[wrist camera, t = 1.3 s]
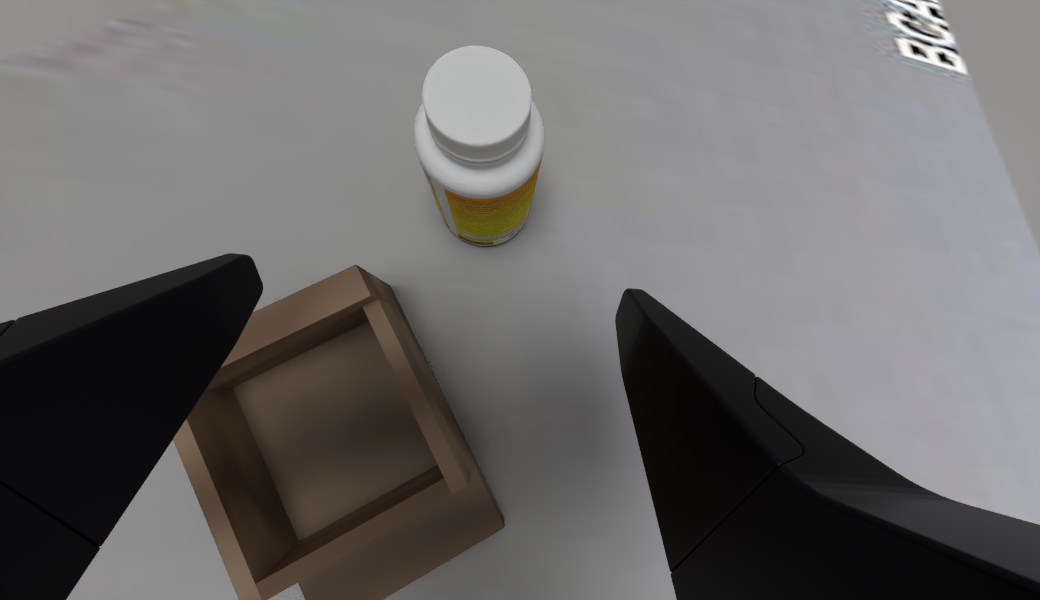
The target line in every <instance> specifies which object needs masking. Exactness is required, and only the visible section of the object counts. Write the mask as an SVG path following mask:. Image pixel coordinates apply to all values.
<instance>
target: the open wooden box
mask: <svg viewBox="0 0 1040 600" xmlns="http://www.w3.org/2000/svg"><path fill="white" fill-rule="evenodd" d="M173 440H174V443H175V445H176V448H177V450H178V453H179V455H180V457H181V460H182V462H183V465H184V467H185V470H186V472H187V474H188V477H189V479H190V482H191V484H192V487H193V489H194V492H195V494H196V496H197V499H198V501H199V504H200V506H201V509H202V511H203V514H204V516H205V518H206V521H207V523H208V526H209V528H210V531H211V533H212V535H213V538H214V540H215V543H216V545H217V548H218V550H219V553H220V555H221V557H222V560H223V562H224V565H225V567H226V570H227V572H228V574H229V577H230V579H231V582H232V584H233V587H234V589H235V592H236V594H237V596H238V599H239V600H267V599H269V598H271V597H273V596H275V595H276V594H278V593H280V592H282V591H283V590H285V589H287V588H289V587H290V586H292V585H294V584H296V583H297V582H298V583H299V586H300V588H301V590H302V593H303V595H304V597H305V600H383V599H384V598H386V597H388V596H389V595H391V594H393V593H394V592H396V591H398V590H399V589H401V588H403V587H405V586H406V585H408V584H410V583H411V582H413V581H415V580H416V579H418V578H420V577H421V576H423V575H425V574H427V573H428V572H430V571H432V570H433V569H435V568H437V567H438V566H440V565H442V564H443V563H445V562H447V561H449V560H450V559H452V558H454V557H455V556H457V555H459V554H460V553H462V552H464V551H465V550H467V549H469V548H471V547H472V546H474V545H476V544H477V543H479V542H481V541H482V540H484V539H486V538H487V537H489V536H491V535H492V534H494V533H496V532H498V531H499V530H501V529H503V528H504V527H505V524H504V517H503V515H502V513H501V511H500V509H499V507H498V505H497V503H496V501H495V499H494V497H493V495H492V493H491V491H490V489H489V487H488V485H487V483H486V481H485V479H484V477H483V474H482V472H481V470H480V468H479V466H478V464H477V462H476V460H475V458H474V456H473V454H472V452H471V450H470V448H469V446H468V444H467V442H466V440H465V438H464V436H463V434H462V432H461V429H460V427H459V425H458V423H457V421H456V419H455V417H454V415H453V413H452V411H451V409H450V407H449V405H448V403H447V401H446V399H445V397H444V395H443V393H442V391H441V389H440V387H439V384H438V382H437V380H436V378H435V376H434V374H433V372H432V370H431V368H430V366H429V364H428V362H427V360H426V358H425V356H424V354H423V352H422V350H421V348H420V346H419V344H418V342H417V339H416V337H415V335H414V333H413V331H412V329H411V327H410V325H409V323H408V321H407V319H406V317H405V315H404V313H403V311H402V309H401V307H400V305H399V303H398V301H397V299H396V297H395V294H394V292H393V290H392V288H391V286H390V285H388V284H387V283H385V282H383V281H382V280H380V279H379V278H377V277H375V276H374V275H372V274H370V273H369V272H367V271H366V270H364V269H362V268H361V267H359V266H357V265H354V266H352V267H349V268H347V269H345V270H343V271H341V272H339V273H337V274H334V275H332V276H330V277H328V278H326V279H324V280H322V281H319V282H317V283H315V284H313V285H311V286H309V287H307V288H304V289H302V290H300V291H298V292H296V293H294V294H292V295H289V296H287V297H285V298H283V299H281V300H279V301H277V302H274V303H272V304H270V305H268V306H266V307H264V308H262V309H259V310H257V311H255V312H253V313H252V314H251V316H250V318H249V320H248V322H247V324H246V326H245V328H244V330H243V332H242V334H241V336H240V337H239V339H238V341H237V343H236V345H235V346H234V348H233V350H232V351H231V353H230V354H229V356H228V357H227V359H226V360H225V362H224V363H223V365H222V366H221V368H220V369H219V371H218V372H217V374H216V375H215V377H214V378H213V380H212V381H211V383H210V384H209V386H208V387H207V389H206V390H205V392H204V393H203V395H202V396H201V398H200V399H199V401H198V402H197V404H196V405H195V407H194V408H193V410H192V411H191V413H190V414H189V416H188V417H187V419H186V420H185V422H184V423H183V425H182V426H181V428H180V429H179V431H178V432H177V434H176V435H175V437H174V438H173Z"/></svg>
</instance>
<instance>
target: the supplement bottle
mask: <svg viewBox="0 0 1040 600" xmlns="http://www.w3.org/2000/svg"><path fill="white" fill-rule="evenodd" d="M422 101H423V103H422V105H421V106H420V108H419V111H418V113H417V116H416V120H415V125H414V142H415V147H416V151H417V154H418V158H419V160H420V163H421V165H422V168H423V170H424V173H425V175H426V178H427V180H428V183H429V185H430V188H431V190H432V193H433V196H434V198H435V200H436V203H437V205H438V208H439V210H440V212H441V215H442V217H443V219H444V221H445V223H446V225H447V226H448V227H449V229H450V230H451V231H452V232H453V233H454V234H455V235H456V236H458V237H459V238H460V239H462V240H464V241H466V242H468V243H471V244H475V245H480V246H491V245H497V244H500V243H503V242H505V241H507V240H509V239H510V238H512V237H513V236H514V235H516V234H517V233H518V232H519V231H520V229H521V228H522V227H523V225H524V223H525V221H526V219H527V217H528V214H529V210H530V206H531V201H532V197H533V193H534V189H535V184H536V181H537V176H538V171H539V167H540V163H541V158H542V154H543V149H544V140H545V133H544V126H543V122H542V118H541V115H540V113H539V110H538V108H537V107H536V105H535V103H534V102H533V100H532V95H531V88H530V84H529V81H528V79H527V77H526V75H525V73H524V71H523V70H522V69H521V67H520V66H519V65H518V64H517V63H516V62H515V61H514V60H513V59H512V58H510V57H509V56H508V55H506V54H504V53H502V52H500V51H498V50H496V49H493V48H489V47H485V46H466V47H461V48H458V49H455V50H452V51H450V52H448V53H446V54H445V55H443V56H442V57H441V58H439V59H438V60H437V61H436V62H435V63H434V64H433V66H432V67H431V68H430V70H429V72H428V73H427V75H426V78H425V80H424V84H423V91H422Z"/></svg>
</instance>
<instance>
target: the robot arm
mask: <svg viewBox="0 0 1040 600" xmlns="http://www.w3.org/2000/svg"><path fill="white" fill-rule="evenodd" d="M262 291H263V284H262V281H261V278H260V276H259V273H258V271H257V268H256V266H255V263H254V261H253V259H252V258H251V257H250V256H248V255H244V254H233V253H230V254H225V255H222V256H219V257H215V258H212V259H209V260H206V261H202V262H199V263H196V264H193V265H189V266H186V267H183V268H180V269H176V270H173V271H170V272H167V273H163V274H160V275H157V276H154V277H150V278H147V279H144V280H141V281H137V282H134V283H131V284H128V285H124V286H121V287H118V288H115V289H111V290H108V291H105V292H101V293H98V294H95V295H92V296H88V297H85V298H82V299H79V300H75V301H72V302H69V303H66V304H62V305H59V306H56V307H53V308H49V309H46V310H43V311H40V312H36V313H33V314H30V315H27V316H23V317H20V318H18V319H17V320H16V321H15V320H10V321H7V322H4V323H0V600H66V599H67V597H68V596H69V594H70V593H71V591H72V590H73V588H74V587H75V585H76V584H77V582H78V581H79V579H80V578H81V576H82V575H83V573H84V572H85V570H86V569H87V567H88V566H89V564H90V563H91V561H92V560H93V558H94V557H95V555H96V554H97V553H98V551H99V549H100V547H99V546H101V545H102V544H103V543H104V541H105V540H106V538H107V537H108V535H109V534H110V532H111V531H112V529H113V528H114V526H115V525H116V523H117V522H118V520H119V519H120V517H121V516H122V514H123V513H124V511H125V510H126V508H127V507H128V505H129V504H130V503H131V501H132V500H133V498H134V497H135V495H136V494H137V492H138V491H139V489H140V488H141V486H142V485H143V483H144V482H145V480H146V479H147V477H148V476H149V474H150V473H151V471H152V470H153V468H154V467H155V465H156V464H157V462H158V461H159V459H160V458H161V456H162V455H163V453H164V452H165V450H166V449H167V447H168V446H169V444H170V443H171V441H172V440H173V438H174V437H175V435H176V434H177V432H178V431H179V429H180V428H181V426H182V425H183V423H184V422H185V420H186V419H187V417H188V416H189V414H190V413H191V411H192V410H193V408H194V407H195V405H196V404H197V402H198V401H199V399H200V398H201V396H202V395H203V393H204V392H205V390H206V389H207V387H208V386H209V384H210V383H211V381H212V380H213V378H214V377H215V375H216V374H217V372H218V371H219V369H220V368H221V366H222V365H223V363H224V362H225V360H226V359H227V357H228V356H229V354H230V353H231V351H232V350H233V348H234V346H235V345H236V343H237V341H238V339H239V337H240V336H241V334H242V332H243V330H244V328H245V326H246V324H247V322H248V320H249V318H250V316H251V314H252V312H253V310H254V308H255V306H256V304H257V303H258V301H259V299H260V297H261V295H262ZM615 322H616V331H617V340H618V349H619V357H620V366H621V372H622V378H623V382H624V386H625V390H626V394H627V399H628V403H629V407H630V411H631V415H632V419H633V423H634V427H635V431H636V435H637V439H638V443H639V447H640V451H641V455H642V459H643V463H644V467H645V472H646V476H647V480H648V484H649V488H650V492H651V496H652V500H653V504H654V508H655V512H656V516H657V520H658V524H659V528H660V532H661V536H662V540H663V544H664V549H665V553H666V557H667V561H668V565H669V569H670V571H671V572H672V573H671V578H672V582H673V586H674V590H675V594H676V598H677V600H1040V525H1038V524H1034V523H1031V522H1027V521H1023V520H1020V519H1016V518H1013V517H1009V516H1006V515H1002V514H998V513H995V512H991V511H988V510H984V509H980V508H977V507H973V506H970V505H966V504H963V503H960V502H957V501H954V500H951V499H948V498H946V497H943V496H940V495H938V494H936V493H934V492H932V491H929V490H927V489H925V488H923V487H921V486H919V485H917V484H915V483H913V482H912V481H910V480H908V479H907V478H905V477H903V476H902V475H900V474H899V473H897V472H895V471H894V470H892V469H891V468H889V467H888V466H886V465H885V464H883V463H882V462H880V461H879V460H877V459H876V458H874V457H873V456H871V455H870V454H868V453H867V452H865V451H864V450H862V449H861V448H859V447H858V446H856V445H855V444H853V443H852V442H850V441H849V440H847V439H846V438H844V437H843V436H841V435H840V434H838V433H837V432H835V431H834V430H832V429H831V428H829V427H828V426H826V425H825V424H823V423H822V422H821V421H819V420H818V419H816V418H815V417H813V416H812V415H810V414H809V413H807V412H806V411H804V410H803V409H802V408H800V407H799V406H797V405H796V404H794V403H793V402H792V401H790V400H789V399H787V398H786V397H785V396H783V395H782V394H781V393H779V392H778V391H777V390H775V389H774V388H772V387H771V386H770V385H768V384H767V383H766V382H765V381H763V380H762V379H761V378H759V377H755V374H754V373H753V372H751V371H750V370H749V369H747V368H746V367H745V366H743V365H742V364H741V363H739V362H738V361H737V360H735V359H734V358H733V357H731V356H730V355H729V354H727V353H726V352H725V351H723V350H722V349H721V348H719V347H718V346H717V345H715V344H714V343H713V342H711V341H710V340H709V339H707V338H706V337H705V336H703V335H702V334H701V333H699V332H698V331H697V330H695V329H694V328H693V327H691V326H690V325H689V324H687V323H686V322H685V321H683V320H682V319H681V318H679V317H678V316H677V315H675V314H674V313H673V312H672V311H670V310H669V309H668V308H666V307H665V306H664V305H662V304H661V303H660V302H658V301H657V300H656V299H654V298H653V297H652V296H650V295H649V294H648V293H646V292H645V291H644V290H641V289H629V288H628V289H626V290H625V291H624V293H623V296H622V299H621V301H620V304H619V307H618V310H617V314H616V321H615Z"/></svg>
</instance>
